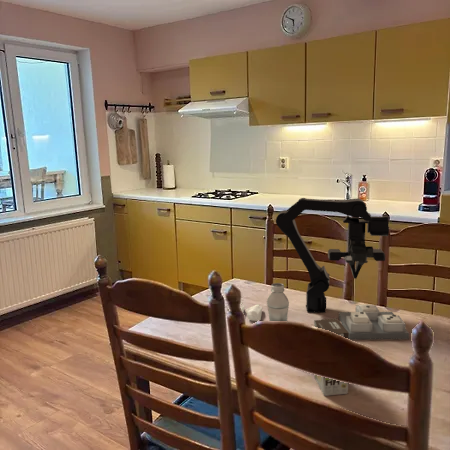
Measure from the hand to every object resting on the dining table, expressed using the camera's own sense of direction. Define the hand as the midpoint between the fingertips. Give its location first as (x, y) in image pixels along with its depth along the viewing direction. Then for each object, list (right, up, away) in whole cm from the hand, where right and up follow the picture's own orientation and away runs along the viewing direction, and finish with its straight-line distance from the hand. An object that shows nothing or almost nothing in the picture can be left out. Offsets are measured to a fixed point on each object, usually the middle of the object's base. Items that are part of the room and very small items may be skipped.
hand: (355, 278), depth 154 cm
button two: (-3, -13, -16) cm, 20 cm away
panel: (+2, -15, -11) cm, 19 cm away
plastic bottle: (-30, -19, -23) cm, 42 cm away
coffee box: (-19, -22, -43) cm, 52 cm away
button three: (+7, -13, -16) cm, 22 cm away
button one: (+2, -12, -7) cm, 14 cm away
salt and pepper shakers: (-37, -14, +3) cm, 40 cm away
